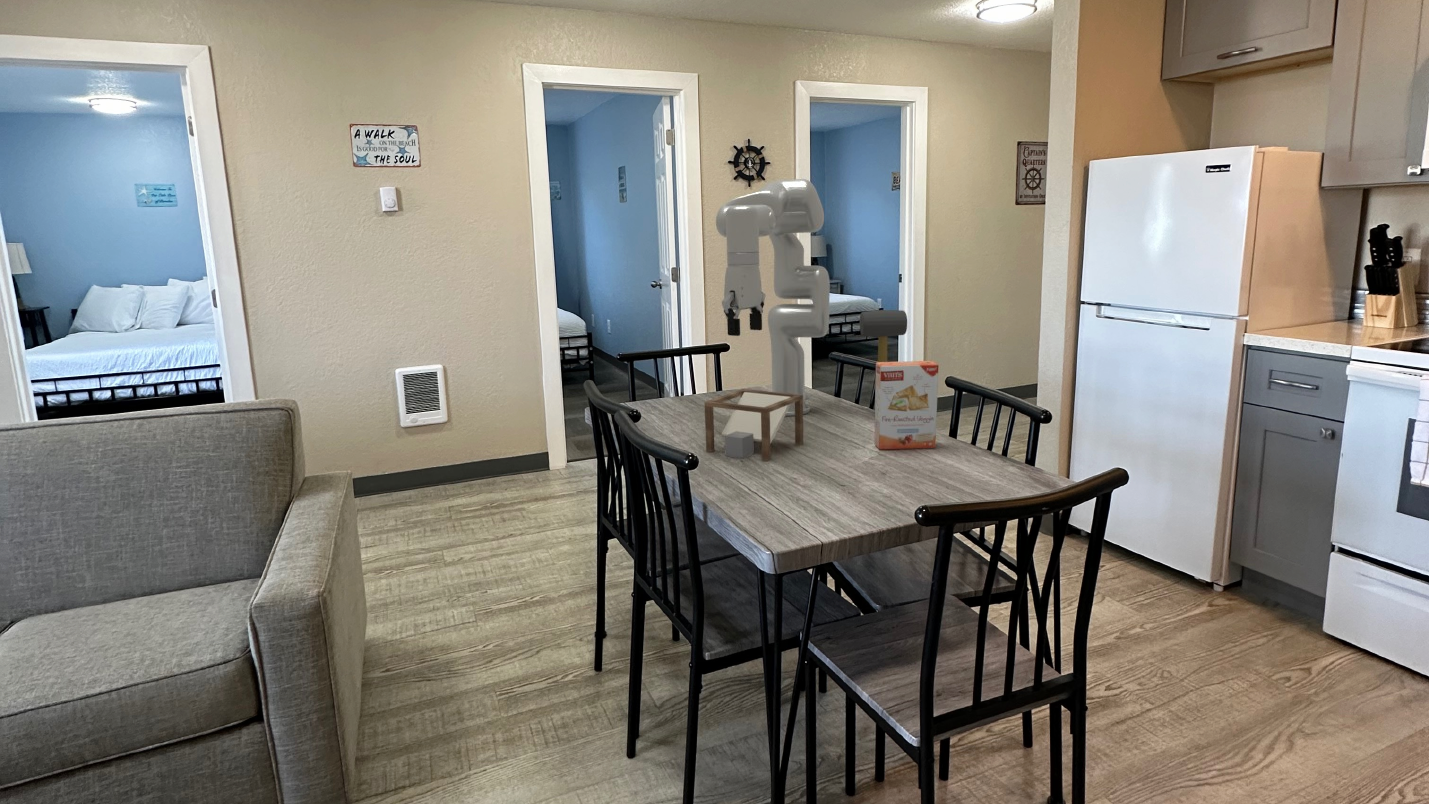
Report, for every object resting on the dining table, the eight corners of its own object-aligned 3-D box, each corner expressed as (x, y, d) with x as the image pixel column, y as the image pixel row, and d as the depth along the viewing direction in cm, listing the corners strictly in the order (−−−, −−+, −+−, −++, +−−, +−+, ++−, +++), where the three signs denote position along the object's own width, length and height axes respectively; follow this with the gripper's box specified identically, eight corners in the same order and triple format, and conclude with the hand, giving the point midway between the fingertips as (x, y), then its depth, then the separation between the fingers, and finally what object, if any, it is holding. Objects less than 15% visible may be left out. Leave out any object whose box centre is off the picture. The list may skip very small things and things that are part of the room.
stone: (736, 431, 199) (724, 435, 195) (753, 433, 196) (742, 438, 192) (736, 450, 200) (725, 455, 196) (753, 453, 197) (742, 458, 193)
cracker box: (879, 450, 196) (880, 365, 191) (873, 444, 202) (874, 361, 197) (936, 448, 196) (939, 363, 191) (929, 442, 202) (932, 359, 197)
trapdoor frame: (744, 435, 214) (743, 388, 212) (803, 443, 205) (802, 395, 202) (706, 451, 200) (704, 402, 198) (767, 461, 190) (766, 409, 188)
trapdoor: (745, 394, 209) (744, 392, 209) (793, 399, 202) (791, 397, 201) (722, 436, 202) (721, 433, 202) (770, 443, 195) (769, 440, 194)
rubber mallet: (900, 411, 235) (902, 307, 229) (906, 417, 228) (908, 310, 221) (858, 412, 235) (858, 309, 229) (862, 418, 228) (863, 312, 221)
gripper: (749, 257, 199) (751, 327, 203) (708, 262, 185) (711, 336, 189) (775, 257, 195) (777, 328, 198) (736, 262, 181) (738, 338, 185)
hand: (745, 332), depth 194 cm, fingers open, 9 cm apart
